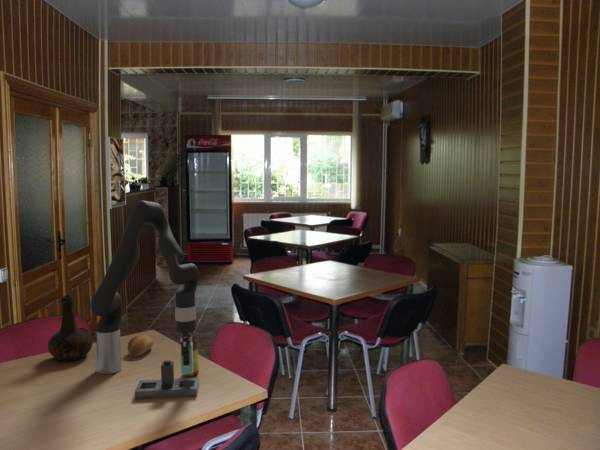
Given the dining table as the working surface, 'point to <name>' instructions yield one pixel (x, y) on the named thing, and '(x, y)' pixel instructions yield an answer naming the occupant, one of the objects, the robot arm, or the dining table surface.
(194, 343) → the sauce bottle
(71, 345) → the glass bottle
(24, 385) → the dining table surface
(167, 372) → the gray slotted rack
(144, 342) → the bread roll
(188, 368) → the plug
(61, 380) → the dining table surface
